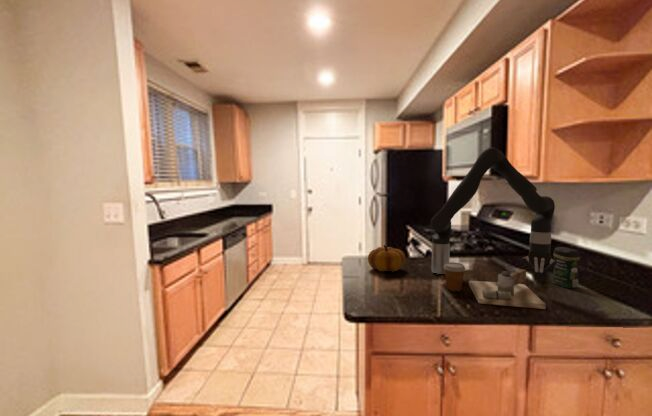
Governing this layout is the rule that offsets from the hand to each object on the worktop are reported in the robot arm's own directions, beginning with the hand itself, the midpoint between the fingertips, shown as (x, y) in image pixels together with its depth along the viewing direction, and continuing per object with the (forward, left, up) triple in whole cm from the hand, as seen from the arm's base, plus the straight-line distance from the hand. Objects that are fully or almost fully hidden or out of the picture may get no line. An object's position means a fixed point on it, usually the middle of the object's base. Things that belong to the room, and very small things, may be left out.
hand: (538, 279), depth 131 cm
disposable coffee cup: (-35, -1, -7) cm, 36 cm away
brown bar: (-11, -3, -5) cm, 12 cm away
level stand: (-15, -4, -7) cm, 17 cm away
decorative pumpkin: (-69, +24, -7) cm, 73 cm away
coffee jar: (+17, +17, -7) cm, 25 cm away
